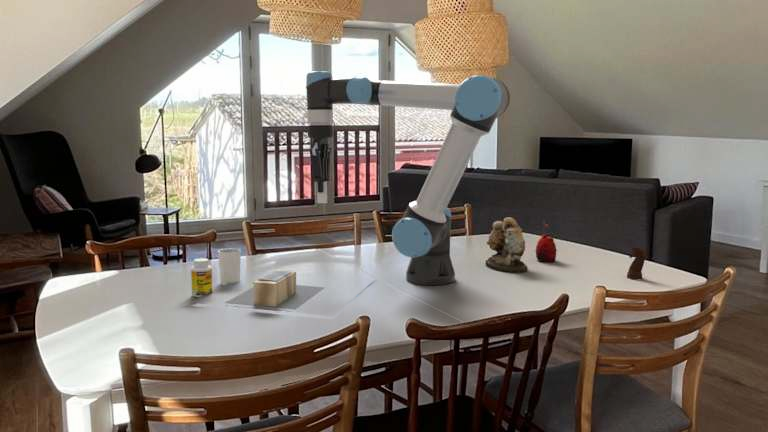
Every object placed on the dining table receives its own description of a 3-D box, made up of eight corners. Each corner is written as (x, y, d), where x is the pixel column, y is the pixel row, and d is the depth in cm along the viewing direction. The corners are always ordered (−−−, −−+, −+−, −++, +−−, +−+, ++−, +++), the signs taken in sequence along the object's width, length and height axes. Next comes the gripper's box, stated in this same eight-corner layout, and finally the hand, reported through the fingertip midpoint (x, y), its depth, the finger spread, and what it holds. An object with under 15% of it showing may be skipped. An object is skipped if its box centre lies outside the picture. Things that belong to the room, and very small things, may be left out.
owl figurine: (474, 263, 219) (476, 214, 217) (501, 260, 225) (503, 212, 222) (508, 274, 204) (510, 222, 201) (536, 270, 209) (538, 220, 207)
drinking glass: (245, 281, 192) (245, 249, 191) (233, 286, 186) (232, 253, 185) (226, 279, 195) (225, 247, 193) (214, 284, 188) (213, 252, 187)
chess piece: (630, 275, 204) (632, 244, 203) (646, 278, 201) (648, 247, 199) (624, 277, 201) (626, 247, 199) (640, 280, 197) (642, 249, 196)
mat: (325, 290, 184) (325, 287, 184) (295, 312, 163) (295, 309, 163) (262, 284, 189) (262, 282, 189) (225, 305, 168) (225, 302, 168)
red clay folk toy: (560, 261, 223) (562, 219, 221) (546, 264, 219) (549, 221, 217) (543, 257, 229) (545, 216, 227) (530, 259, 225) (532, 218, 223)
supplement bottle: (195, 299, 174) (194, 262, 172) (189, 294, 178) (188, 258, 177) (215, 296, 177) (214, 260, 175) (209, 291, 181) (207, 256, 180)
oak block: (296, 270, 177) (274, 282, 164) (296, 292, 178) (275, 306, 165) (276, 268, 179) (253, 280, 166) (276, 290, 180) (254, 304, 167)
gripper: (315, 124, 196) (317, 200, 199) (300, 124, 183) (302, 205, 187) (338, 124, 194) (340, 200, 198) (324, 124, 182) (327, 205, 185)
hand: (322, 202), depth 192 cm, fingers closed
